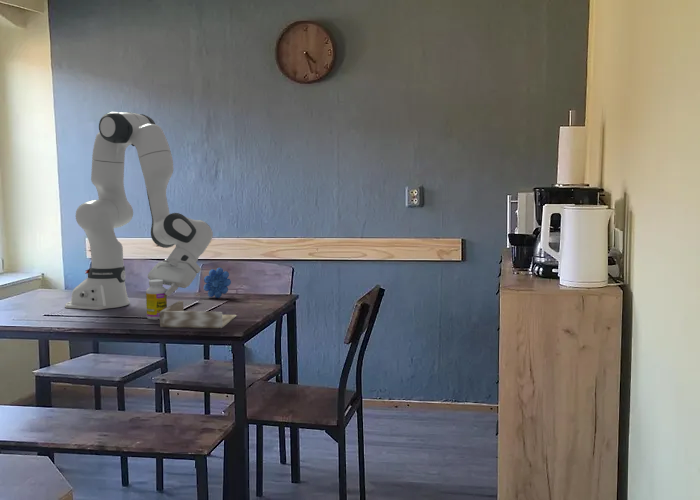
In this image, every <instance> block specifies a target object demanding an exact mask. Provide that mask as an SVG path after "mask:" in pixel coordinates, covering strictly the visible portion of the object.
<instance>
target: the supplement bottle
mask: <svg viewBox="0 0 700 500" xmlns="http://www.w3.org/2000/svg"><path fill="white" fill-rule="evenodd" d="M148 285H149V286H148V288H146V291H145V297H146V301H145V302H146V318H147V319H148V320H154V321H157V320H158V319H159V320H160V311H162V310H163V309H165V308H167V307H168V306H167V305H168V299H167V298H168V296H165V295H164V292H165V290H166V289H167V288H166V287H164V286H163V285H164V284H163V280H160V279H155V280H150V279H148Z"/></svg>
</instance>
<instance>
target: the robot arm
mask: <svg viewBox="0 0 700 500" xmlns="http://www.w3.org/2000/svg"><path fill="white" fill-rule="evenodd" d="M98 130H99V132H97V134H96V136H95V139H94V144H93V148H92V155H91V156H92V157H91V158H92V159H91V160H92V161H91V175H90V176H91V177H90V180H91V184H92V185H94V186H95V188H96V192H97V196H98V199H93V200H88V201H86V202H83V203H82V204H80V205H79V206H78V207H77V209H76V211H75V220H76V221H75V222H76V223H77V224H78V226H79V227H80V228H81V229H82V230H83V231H84V233H85V235H86V238H87V240H88V243H89V247H90V258H91V259H90V260H91V261H90V262H91V267H90V268H88V269H87V270H85V273H84V274H85V275H86V274H87V278H85V279H84V280H83V281H82V282H80V283H79V284H78V285H76V287H74V289H73V290H72V291H71V298H70V299H71V300H70V301H68V302H66V303H65V306H64V307H65V308H66V309H68V308H69V309H81V310H82V309H84V310H93V311H94V310H97V311H98V310H106V309H114V308H120V307H124V306H125V307H126V306H128V305H130V300H129V297H128V292H127V288H126V283H125V282H126V268H125V265H124V251H123V250H124V249H123V248H124V247H123V244H122V243H121V242H120V241H119V240H118V239H117V236H116V233H115V229H117V228H121V227H123V226H125V225H127V224H129V223H130V222H131V221H132V219H133V217H134V210H133V206H132V204H131V203H130V202H129V201H128V198H127V195H126V191H125V186H124V185H125V184H124V183H125V182H124V181H125V179H124V177H125V159H126V157H125V155H126V149H127V148H128V147H129V146H132V147H135V149H136V152H137V157H138V160H139V163H140V168H141V172H142V175H143V179H144V183H145V184H144V185H145V188H146V194H147V200H148V204H149V205H148V206H149V210H150V215H151V226H150V237H151V239H152V241H153V242H154V243H155V245H157V246H158V247H159V248H165V249H168V248H171V247H173V246H175V247H174V249H173V250H172V252H171V253H170V254H169V256H168V257H167V259H164V260H161V261H159V262H157V263H156V264H155V265H154V266H153V267H152V269H151V270H150V271H149V272H148V273H147V278H148V280H155V279H160V280H163V285H166V286H169V288H165V289H166V290H165V292H164V295H165V296H167V297H170V296H171V295H172V294H173V293H174V292H176V291H177V290H178V289H179V288H180V289H181V288H182V289H186V288H188V287H190V285H191V284H192V283H193V282H194V279H195V278H196V277H197V274H199V273H200V272H201V270H202V268H201V267H200V266H199V264H198V263H197V262H198V260H199V257H200V256H201V255H202V254H204V252H205V251H206V249H207V248H208V247H209V245H210V243H211V241H212V239H213V235H214V232H213V230H212V228H211V226H210V225H209V224H208V223H207V222H206V221H203V220H202V219H193V218H189V217H187V216H185V215H183V214H182V213H179V212H172V213H170V208H169V205H168V199H167V198H168V197H167V189H168V184H169V182H170V180H171V178H172V176H173V174H174V161H173V156H172V155H173V154H172V153H171V148H170V146H169V142H168V140H167V139H168V138H166V134H165V133H164V131H163V129H162V127H161V126H160V125H158V124H156V123H155V121H154V119H152V118H151V117H150V116H148V115H146V114H143V113H141V114H139V113H134V112H130V111H127V112H118V111H111V112H108V113H105V114H103V115H102V117H100V119H99V123H98Z"/></svg>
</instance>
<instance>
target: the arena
mask: <svg viewBox="0 0 700 500" xmlns="http://www.w3.org/2000/svg"><path fill="white" fill-rule="evenodd" d="M236 317H237V314H223V311H205V310H204V311H200V310H197V311H194V310H193V311H192V310H191V311H190V310H188V311H187V310H184V300H178V301H176V302H175V303H172V304H170V305H169V306H167V308H165V309H163V310H162V311H160V319H159V327H160V328H180V329H181V328H183V329H185V328H187V329H188V328H189V329H190V328H191V329H222V328H224V327H225V326H226V325H228V323H230V322H231V321H232V320H234V319H235V318H236Z"/></svg>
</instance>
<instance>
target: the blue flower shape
mask: <svg viewBox="0 0 700 500" xmlns="http://www.w3.org/2000/svg"><path fill="white" fill-rule="evenodd" d="M229 276H230V273H229V272H228V270H224V269H223V268H222V267H217V268H216V269H210V270H209V271H208V275H205V276H204V278H203V281H204V283H205V284H204V285H203V290H204V291H205V292H207V296H208V297H209V298H212V297H215V298H216V299H219V298H221V297H222V295H226V294H227V293H228V291H229V287H230V285H231V284H232V280H231V279H230V278H229Z"/></svg>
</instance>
